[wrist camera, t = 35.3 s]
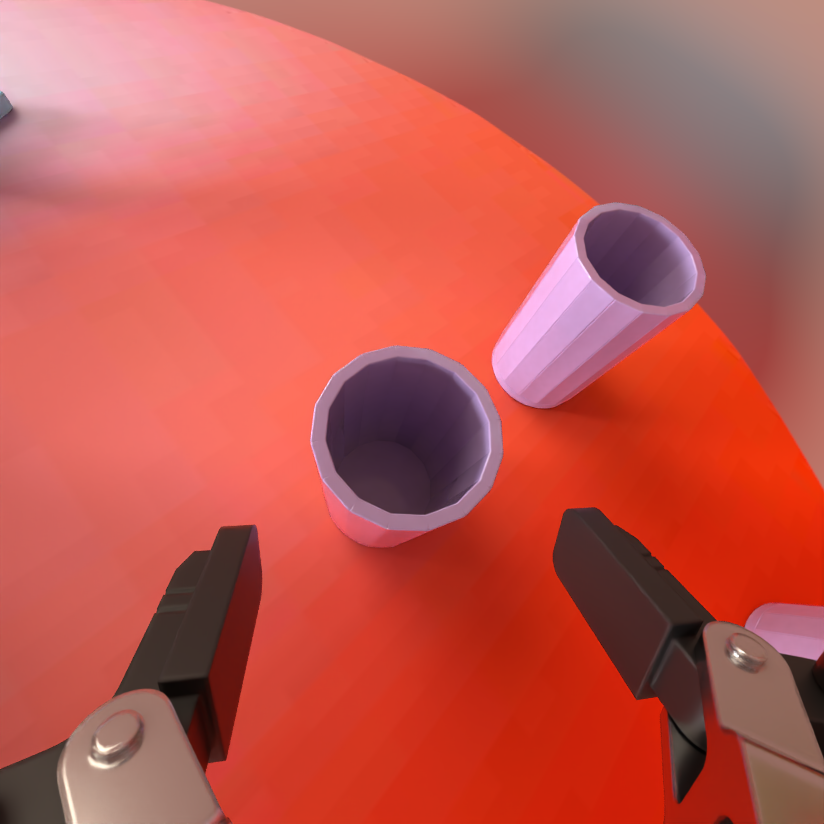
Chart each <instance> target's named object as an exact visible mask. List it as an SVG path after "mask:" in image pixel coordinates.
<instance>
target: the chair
mask: <svg viewBox="0 0 824 824" xmlns="http://www.w3.org/2000/svg"><path fill="white" fill-rule="evenodd" d="M11 109H12V105H11V103H10V102H9V100H8V99H7V97H6V96H5V94H4V93H3V92H2V91H0V119H1V118H2V117H3V116H5V115H6V114H7V113H8V112H9V111H10V110H11Z"/></svg>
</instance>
